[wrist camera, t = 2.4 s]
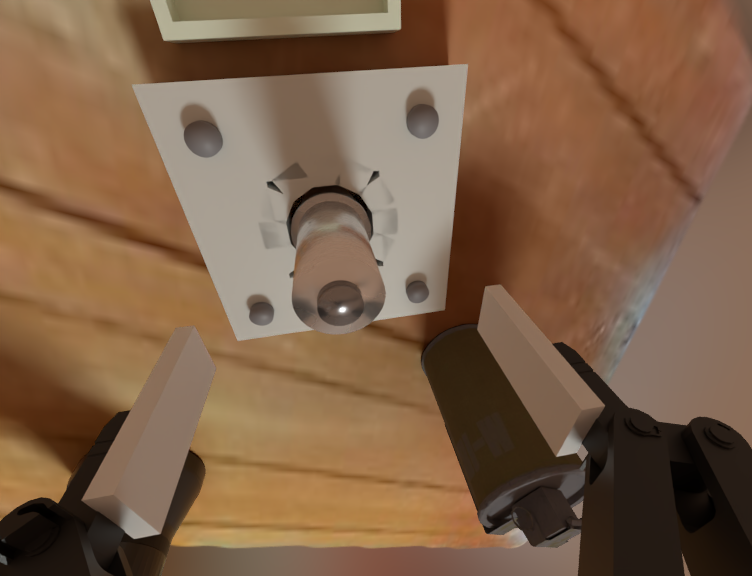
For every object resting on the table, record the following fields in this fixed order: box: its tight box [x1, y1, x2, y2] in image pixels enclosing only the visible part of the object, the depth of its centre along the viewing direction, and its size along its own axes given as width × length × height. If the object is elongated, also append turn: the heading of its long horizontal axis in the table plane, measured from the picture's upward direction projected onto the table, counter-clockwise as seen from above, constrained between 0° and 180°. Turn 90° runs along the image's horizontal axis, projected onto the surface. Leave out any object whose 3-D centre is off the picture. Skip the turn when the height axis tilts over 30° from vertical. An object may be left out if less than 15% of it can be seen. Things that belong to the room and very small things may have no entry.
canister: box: [421, 324, 586, 548], centre depth 33 cm, size 11×10×20 cm
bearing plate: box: [132, 64, 468, 341], centre depth 26 cm, size 20×20×4 cm
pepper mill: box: [291, 185, 386, 334], centre depth 22 cm, size 6×6×14 cm
